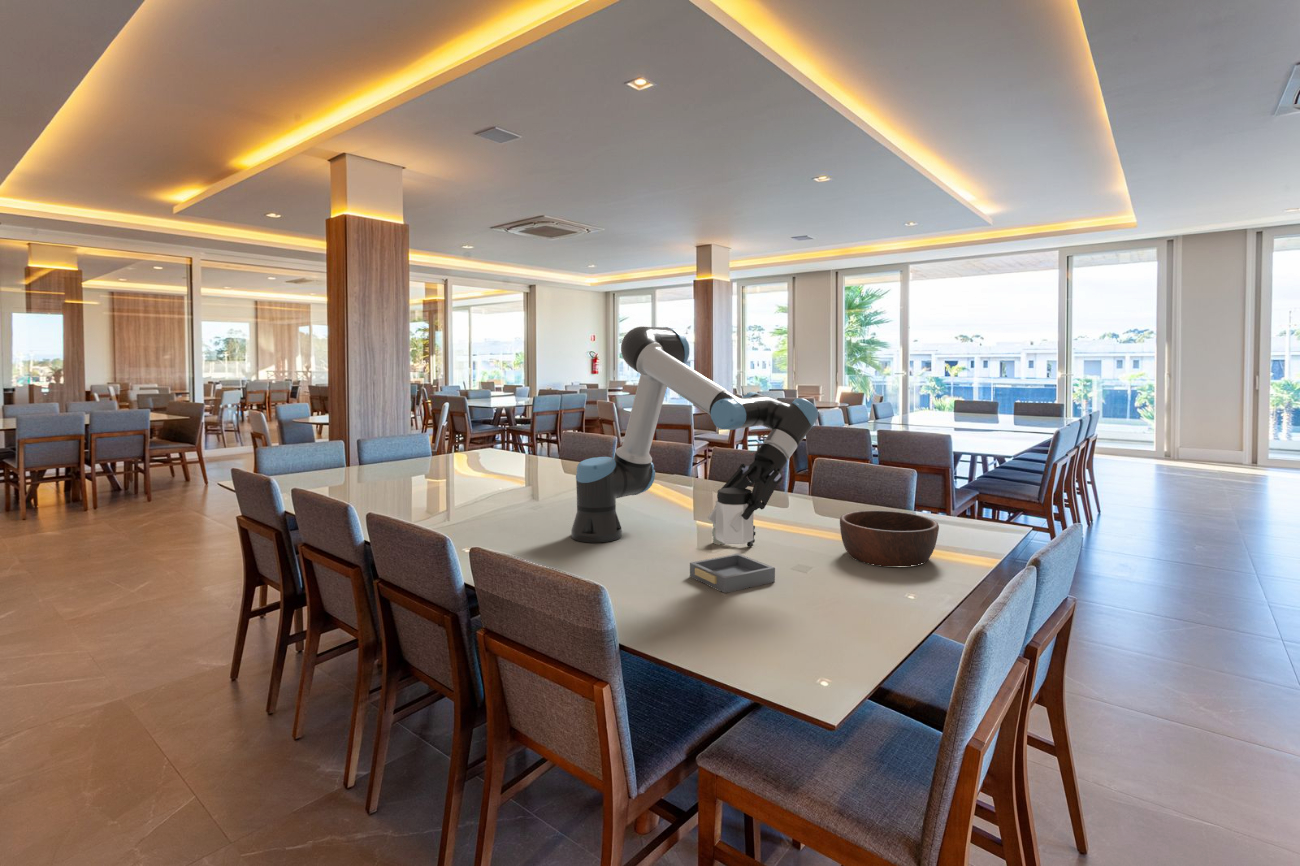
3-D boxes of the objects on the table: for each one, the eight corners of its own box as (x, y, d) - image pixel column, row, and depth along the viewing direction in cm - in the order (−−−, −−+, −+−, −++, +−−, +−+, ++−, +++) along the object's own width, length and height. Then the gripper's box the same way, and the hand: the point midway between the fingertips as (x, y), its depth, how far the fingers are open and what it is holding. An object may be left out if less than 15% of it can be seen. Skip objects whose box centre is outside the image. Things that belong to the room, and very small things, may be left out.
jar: (730, 533, 169) (730, 485, 168) (758, 538, 164) (759, 489, 162) (709, 540, 162) (709, 491, 161) (738, 546, 157) (738, 495, 156)
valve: (708, 545, 195) (749, 550, 190) (708, 523, 194) (749, 527, 189) (715, 540, 201) (755, 544, 196) (715, 518, 200) (755, 521, 196)
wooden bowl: (939, 551, 189) (940, 514, 188) (935, 577, 166) (937, 536, 165) (846, 541, 199) (847, 506, 198) (831, 564, 177) (832, 525, 176)
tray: (687, 576, 167) (687, 563, 166) (738, 566, 175) (738, 553, 174) (722, 593, 155) (722, 578, 154) (774, 581, 163) (775, 567, 162)
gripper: (812, 467, 161) (759, 543, 154) (756, 457, 178) (705, 525, 172) (796, 446, 157) (740, 523, 151) (740, 438, 175) (688, 507, 168)
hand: (722, 524), depth 161 cm, fingers closed on jar, 8 cm apart
